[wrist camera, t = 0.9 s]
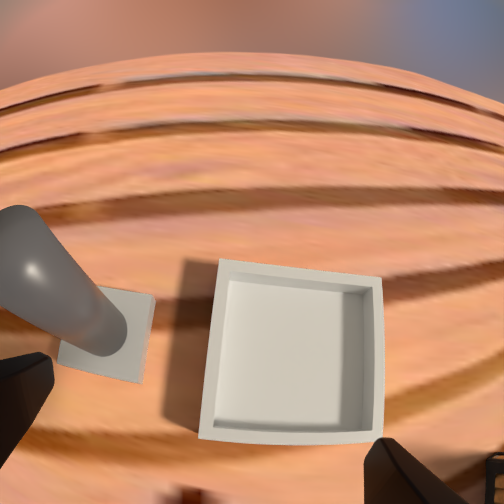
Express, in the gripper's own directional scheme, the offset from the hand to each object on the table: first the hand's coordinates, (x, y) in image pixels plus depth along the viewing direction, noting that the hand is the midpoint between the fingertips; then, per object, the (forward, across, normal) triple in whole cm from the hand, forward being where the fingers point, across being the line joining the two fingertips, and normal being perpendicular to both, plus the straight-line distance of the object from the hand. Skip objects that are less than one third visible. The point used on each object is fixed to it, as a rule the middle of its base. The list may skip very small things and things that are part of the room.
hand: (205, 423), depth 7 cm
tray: (+14, -4, +5) cm, 15 cm away
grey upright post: (+12, +9, +6) cm, 16 cm away
